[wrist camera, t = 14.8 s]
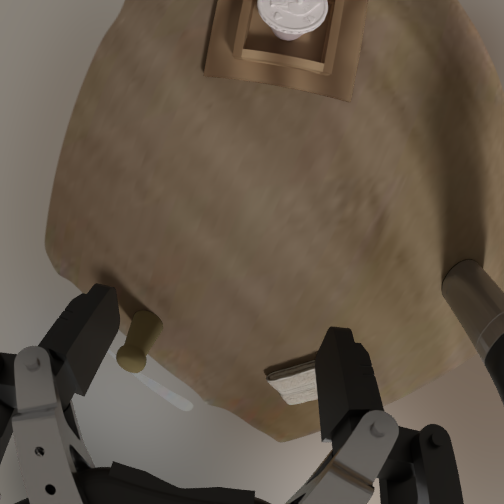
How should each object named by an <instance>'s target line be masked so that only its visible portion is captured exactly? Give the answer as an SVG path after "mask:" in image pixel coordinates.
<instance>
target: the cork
mask: <svg viewBox="0 0 504 504" xmlns="http://www.w3.org/2000/svg"><path fill="white" fill-rule="evenodd" d="M162 329H163V324H162V322H161V320H160V319H159V318H158V317H157V316H156V315H155V314H153V313H151V312H149V311H143V310H142V311H138V312H136V313H135V314H134V316H133V319H132V322H131V325H130V328H129V331H128V335H127V338H126V341H125V344H124V346H122V347H120V349H119V350H118V352H117V355H116V359H117V362H118V364H119V365H120V366H121V367H122V368H123V369H124V370H126V371H128V372H132V373H138V372H140V371H142V370H143V369H144V367H145V365H146V355H147V354H148V352H149V350H150V349H151V347H152V346H153V344H154V342H155V341H156V339H157V338H158V336H159V335H160V333H161V331H162Z"/></svg>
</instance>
